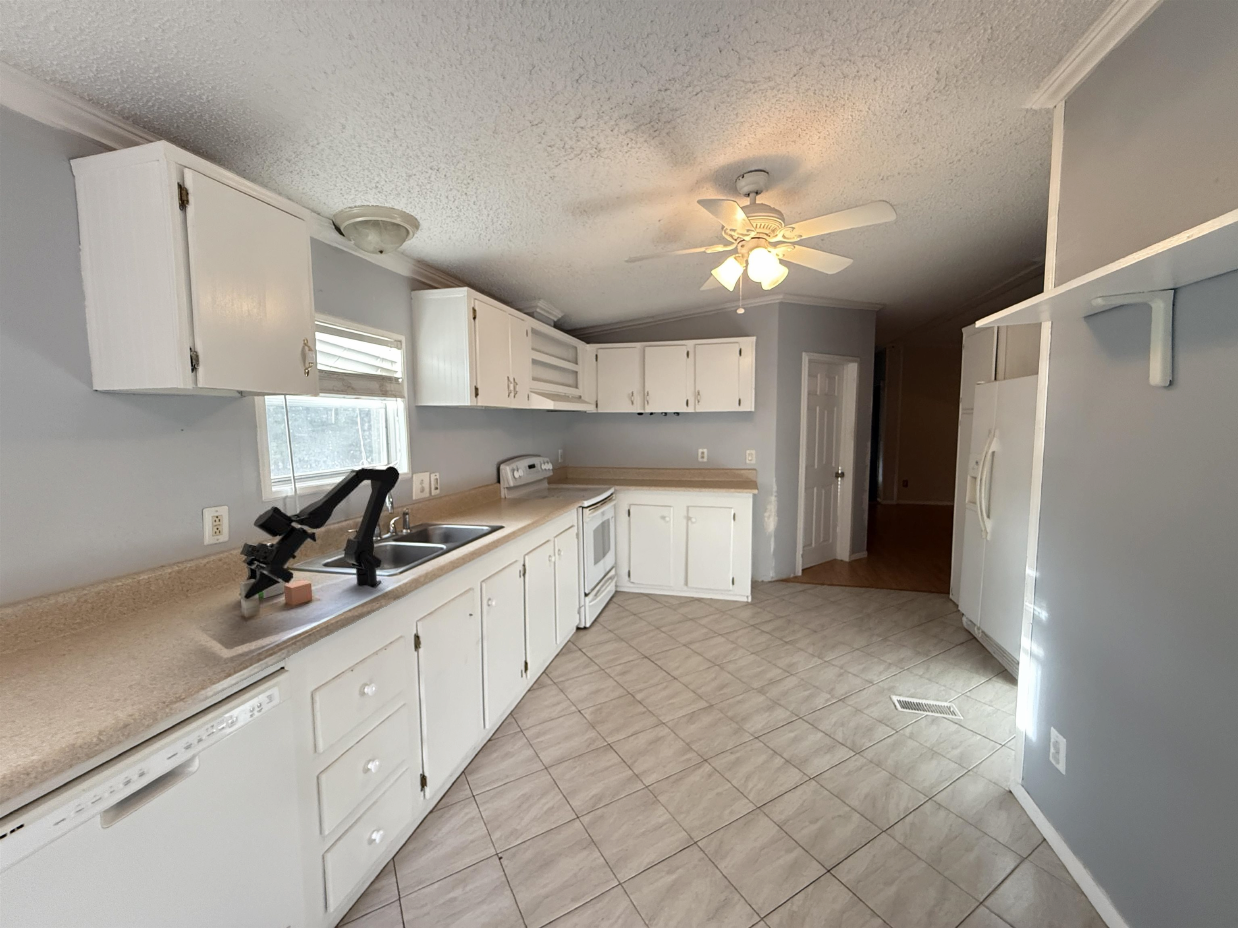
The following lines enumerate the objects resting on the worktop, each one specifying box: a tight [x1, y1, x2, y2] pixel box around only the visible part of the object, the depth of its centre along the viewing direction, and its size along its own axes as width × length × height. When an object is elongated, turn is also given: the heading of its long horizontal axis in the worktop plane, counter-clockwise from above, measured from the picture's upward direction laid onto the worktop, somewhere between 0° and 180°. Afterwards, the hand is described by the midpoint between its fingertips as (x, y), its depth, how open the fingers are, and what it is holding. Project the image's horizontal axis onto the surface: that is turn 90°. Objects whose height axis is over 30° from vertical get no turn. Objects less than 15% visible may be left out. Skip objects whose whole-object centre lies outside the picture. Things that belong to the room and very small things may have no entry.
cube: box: [284, 579, 313, 605], centre depth 139 cm, size 5×5×5 cm
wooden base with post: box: [233, 579, 322, 622], centre depth 135 cm, size 18×9×10 cm, turn 145°
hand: (243, 596), depth 128 cm, fingers closed on wooden base with post, 3 cm apart
